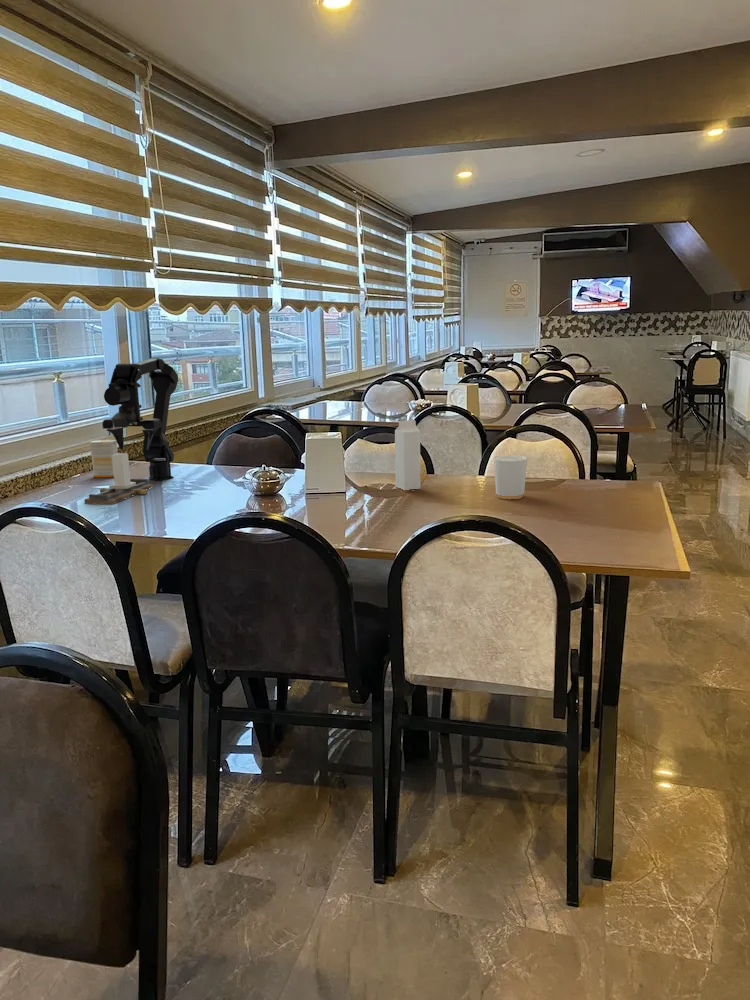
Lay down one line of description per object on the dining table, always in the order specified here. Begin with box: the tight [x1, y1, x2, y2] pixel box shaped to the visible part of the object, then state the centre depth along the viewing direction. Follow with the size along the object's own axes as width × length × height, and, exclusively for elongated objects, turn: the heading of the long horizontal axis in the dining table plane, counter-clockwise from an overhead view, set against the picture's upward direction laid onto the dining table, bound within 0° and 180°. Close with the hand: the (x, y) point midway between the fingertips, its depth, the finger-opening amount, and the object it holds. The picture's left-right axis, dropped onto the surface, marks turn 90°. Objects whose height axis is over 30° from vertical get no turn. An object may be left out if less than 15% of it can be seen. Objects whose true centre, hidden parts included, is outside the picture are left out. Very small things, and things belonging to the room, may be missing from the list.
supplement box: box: [89, 439, 119, 478], centre depth 275 cm, size 8×5×13 cm, turn 84°
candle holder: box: [493, 454, 528, 496], centre depth 229 cm, size 10×10×12 cm
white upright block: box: [108, 452, 136, 492], centre depth 245 cm, size 6×6×12 cm
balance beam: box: [84, 478, 154, 505], centre depth 244 cm, size 25×16×3 cm, turn 167°
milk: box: [394, 419, 421, 490], centre depth 242 cm, size 6×6×22 cm
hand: (134, 449), depth 252 cm, fingers open, 9 cm apart
